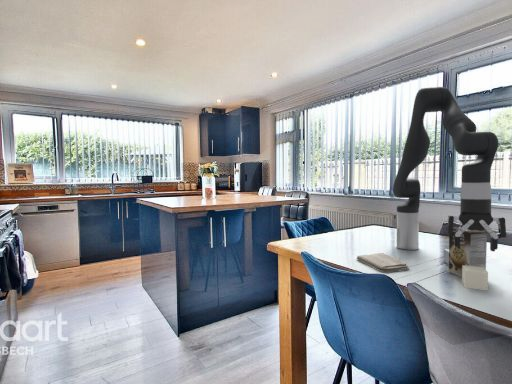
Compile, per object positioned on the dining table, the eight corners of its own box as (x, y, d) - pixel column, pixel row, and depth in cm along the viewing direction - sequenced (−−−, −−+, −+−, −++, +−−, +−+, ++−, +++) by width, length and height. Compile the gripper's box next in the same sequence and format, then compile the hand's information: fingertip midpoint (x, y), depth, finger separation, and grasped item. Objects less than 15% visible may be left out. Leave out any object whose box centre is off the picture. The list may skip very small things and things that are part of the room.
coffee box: (447, 271, 102) (448, 227, 101) (464, 270, 102) (464, 226, 102) (468, 280, 93) (469, 232, 92) (487, 279, 93) (487, 231, 93)
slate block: (449, 265, 109) (449, 252, 109) (443, 261, 114) (444, 249, 114) (464, 265, 108) (464, 252, 108) (458, 261, 113) (458, 249, 113)
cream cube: (465, 287, 88) (465, 270, 87) (462, 281, 93) (462, 265, 92) (487, 290, 85) (487, 272, 85) (483, 284, 90) (483, 267, 90)
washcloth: (383, 274, 102) (383, 266, 102) (355, 260, 120) (355, 253, 120) (411, 271, 105) (411, 263, 105) (380, 258, 122) (380, 251, 122)
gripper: (449, 198, 88) (449, 250, 88) (509, 198, 81) (508, 254, 81) (446, 196, 94) (446, 244, 95) (501, 196, 87) (501, 248, 88)
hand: (475, 249), depth 88 cm, fingers open, 8 cm apart
